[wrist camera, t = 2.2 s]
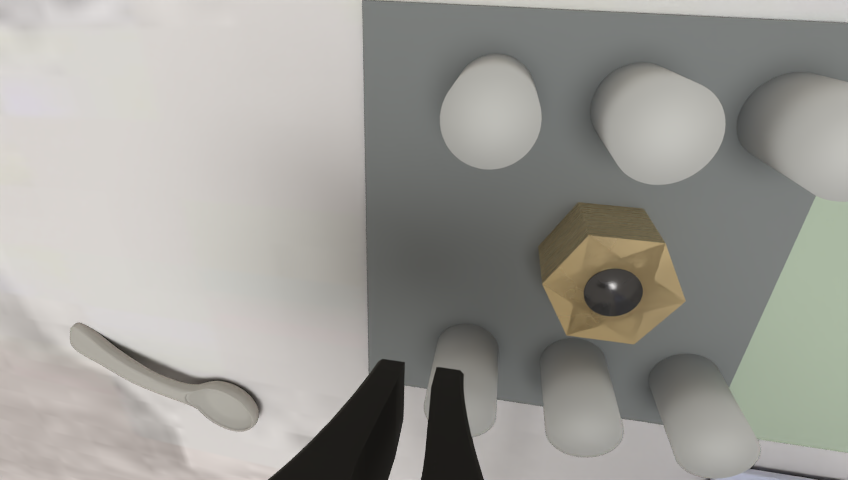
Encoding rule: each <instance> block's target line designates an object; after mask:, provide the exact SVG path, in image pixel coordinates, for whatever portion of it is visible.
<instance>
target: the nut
mask: <svg viewBox="0 0 848 480" xmlns="http://www.w3.org/2000/svg"><path fill="white" fill-rule="evenodd" d="M538 249H539V259H540V268H541V278H542V285H543V287H544V289H545V291H546V293H547V295H548V297H549V300H550V302H551V304H552V306H553V308H554V310H555V312H556V314H557V316H558V319H559V321H560V323H561V325H562V327H563V329H564V331H565V333H566V335H567V336H575V337H582V338H590V339H597V340H605V341H612V342H620V343H627V344H635V343H636V342H638V341H639V340H640V339H641V338H642V337H644V336H645V335H646V334H647V333H648V332H650V331H651V330H652V329H653V328H654V327H656V326H657V325H658V324H659V323H660V322H662V321H663V320H664V319H665V318H666V317H668V316H669V315H670V314H671V313H672V312H674V311H675V310H676V309H677V308H678V307H680V306H681V305H682V304H683V303H684V302H686V300H685V297H684V295H683V292H682V289H681V286H680V283H679V280H678V277H677V275H676V272H675V269H674V266H673V263H672V260H671V257H670V255H669V252H668V249H667V246H666V243H665V242H664V240H663V238H662V237H661V235H660V234H659V232H658V230H657V229H656V227H655V226H654V224H653V223H652V221H651V219H650V218H649V216H648V215H647V213H646V211H645V210H644V209H643V208H633V207H623V206H612V205H602V204H592V203H582V202H578V203H577V204H576V205H575V206H574V207H573V209H572V210H571V211H570V212H569V213H568V214H567V215H566V216H565V217H564V218H563V220H562V221H561V222H560V223H559V224H558V225H557V226H556V227H555V228H554V230H553V231H552V232H551V233H550V234H549V235H548V236H547V237H546V238H545V239H544V241H543V242H542V243H541V244H540V245H539V246H538Z"/></svg>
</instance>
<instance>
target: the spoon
mask: <svg viewBox="0 0 848 480" xmlns="http://www.w3.org/2000/svg"><path fill="white" fill-rule="evenodd" d="M70 342H71V345H72V347H73V348H74V349H75V350H76V351H78V352H79V353H81V354H82V355H84V356H86V357H88V358H89V359H91V360H93V361H95V362H97V363H99V364H100V365H102V366H104V367H105V368H107V369H109V370H111V371H112V372H114V373H116V374H117V375H119V376H121V377H123V378H124V379H126V380H128V381H130V382H132V383H134V384H136V385H138V386H141V387H143V388H145V389H148V390H150V391H153V392H155V393H158V394H161V395H163V396H166V397H169V398H171V399H174V400H177V401H180V402H183V403H185V404H188V405H191V406H193V407H195V408H196V409H198V410H199V411H200V412H201V413H202V414H203V415H204V416H205V417H206V418H207V419H209V420H210V421H212V422H213V423H215V424H217V425H219V426H221V427H223V428H225V429H228V430H232V431H238V432H242V431H247V430H249V429H251V428H252V427H253V426H254V425H255V424H256V423H257V421H258V418H259V411H258V407H257V405H256V403H255V401H254V400H253V398H252V397H251V396H250V395H249V394H248V393H247V392H246V391H244V390H243V389H241V388H240V387H238V386H236V385H234V384H231V383H228V382H224V381H210V382H206V383H202V384H188V383H183V382H179V381H176V380H173V379H170V378H168V377H165V376H163V375H160V374H158V373H156V372H154V371H152V370H151V369H149V368H147V367H145V366H144V365H142V364H140V363H139V362H137V361H136V360H134V359H133V358H131V357H129V356H128V355H126V354H125V353H124V352H122V351H121V350H119V349H118V348H116V347H115V346H114V345H113V344H111V343H110V342H109V341H108V340H106V339H105V338H104V337H103V336H102V335H100V334H99V333H98V332H96V331H95V330H93V329H91V328H90V327H88V326H86V325H84V324H82V323H76V324H75V325H74V326H72V328H71V329H70Z"/></svg>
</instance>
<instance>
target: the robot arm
mask: <svg viewBox="0 0 848 480" xmlns="http://www.w3.org/2000/svg"><path fill="white" fill-rule="evenodd" d="M404 378H405V362H401V361H394V360H387V359H381V360H380V361H378V362H377V364H376V365H375V367H374V368H373V370H372V371H371V372H370V374H369V375H368V376H367V378H366V379H365V380H364V382H363V383H362V384H361V386H360V387H359V388H358V389H357V391H356V392H355V393H354V394H353V396H352V397H351V398H350V399H349V400H348V401H347V403H346V404H345V405H344V406H343V407H342V408H341V409H340V411H339V412H338V413H337V414H336V415H335V416H334V417H333V419H332V420H331V421H330V422H329V423H328V424H327V425H326V426H325V427H324V428H323V429H322V430H321V431H320V432H319V433H318V434H317V435H316V436H315V437H314V438H313V439H312V440H311V441H310V442H309V443H308V444H307V445H306V446H305V447H304V448H303V449H302V450H301V451H300V452H299V453H298V454H297V455H296V456H295V457H294V458H293V459H292V460H290V461H289V462H288V463H287V464H286V465H285V466H284V467H283V468H281V469H280V470H279V471H278V472H277V473H276V474H274V475H273V476H272V477H271V478H270V479H268V480H388V478H389V475H390V471H391V468H392V465H393V462H394V459H395V455H396V451H397V446H398V442H399V437H400V432H401V427H402V423H403V414H404ZM421 480H484V479H483V476H482V472H481V469H480V466H479V462H478V459H477V455H476V452H475V448H474V444H473V440H472V436H471V431H470V427H469V422H468V417H467V412H466V405H465V397H464V374H463V373H462V372H461V370H456V369H449V368H442V367H436V371H435V374H434V378H433V382H432V386H431V394H430V405H429V417H428V428H427V439H426V450H425V459H424V466H423V472H422V477H421ZM710 480H816V479H810V478H804V477H798V476H791V475H785V474H779V473H773V472H767V471H760V470H754V469H748V470H746V471H745V472H743V473H741V474H738V475H735V476H732V477H727V478H716V479H714V478H711V479H710Z"/></svg>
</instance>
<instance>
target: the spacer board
mask: <svg viewBox="0 0 848 480" xmlns="http://www.w3.org/2000/svg"><path fill="white" fill-rule="evenodd" d="M362 13H363V70H364V126H365V182H366V239H367V295H368V351H369V374H370V372H371V371H372V370H373V368H374V367H375V365H376V364H377V362H378V361H380V360H381V359H387V360H394V361H401V362H405V378H404V385H406V386H412V387H419V388H426V389H427V393H426V398H425V402H424V412H425V415H426V417H427V419H428V417H429V405H430V394H431V386H432V382H433V378H434V374H435V371H436V367H442V368H449V369H456V370H461V372H462V373H463V374H464V397H465V405H466V412H467V417H468V422H469V427H470V431H471V436H472V437H475V436H479V435H481V434H483V433H485V432H487V431H488V430H489V429H490V428H491V427H492V426H493V424H494V422H495V420H496V407H497V399H498V400H504V401H511V402H517V403H524V404H530V405H537V406H543V407H544V420H545V432H546V436H547V438H548V440H549V442H550V443H551V444H552V445H553V446H554V447H555V448H556V449H558V450H559V451H561V452H563V453H566V454H568V455H571V456H576V457H596V456H600V455H603V454H606V453H608V452H610V451H612V450H613V449H615V448H616V447H617V446H618V445H619V443H620V442H621V440H622V438H623V434H624V429H623V424H622V421H621V418H622V419H629V420H635V421H642V422H648V423H655V424H661V425H664V428H665V431H666V433H667V436H668V439H669V442H670V445H671V447H672V450H673V453H674V456H675V459H676V461H677V463H678V464H679V465H680V466H681V467H682V468H683V469H684V470H685V471H687V472H689V473H691V474H693V475H696V476H699V477H704V478H714V479H716V478H727V477H732V476H735V475H738V474H741V473H743V472H745V471H746V470H748V469H750V468H751V467H752V466H753V465H754V464H755V463H756V462H757V460H758V459H759V456H760V452H761V447H760V444H759V441H758V439H760V440H766V441H773V442H779V443H786V444H792V445H799V446H805V447H812V448H819V449H825V450H832V451H838V452H845V453H848V23H837V22H816V21H795V20H774V19H752V18H731V17H710V16H689V15H668V14H647V13H626V12H605V11H584V10H563V9H542V8H521V7H499V6H478V5H457V4H436V3H415V2H394V1H373V0H362ZM578 202H582V203H592V204H602V205H612V206H623V207H633V208H643V209H644V210H645V211H646V213H647V215H648V216H649V218H650V219H651V221H652V223H653V224H654V226H655V227H656V229H657V230H658V232H659V234H660V235H661V237H662V238H663V240H664V242H665V243H666V246H667V249H668V252H669V255H670V257H671V260H672V263H673V266H674V269H675V272H676V275H677V277H678V280H679V283H680V286H681V289H682V292H683V295H684V297H685V300H686V302H684V303H683V304H682V305H681V306H680V307H678V308H677V309H676V310H675V311H674V312H672V313H671V314H670V315H669V316H668V317H666V318H665V319H664V320H663V321H662V322H660V323H659V324H658V325H657V326H656V327H654V328H653V329H652V330H651V331H650V332H648V333H647V334H646V335H645V336H644V337H642V338H641V339H640V340H639V341H638V342H636V343H635V344H627V343H620V342H612V341H605V340H597V339H590V338H582V337H575V336H567V335H566V333H565V331H564V329H563V327H562V325H561V323H560V321H559V319H558V316H557V314H556V312H555V310H554V308H553V306H552V304H551V302H550V300H549V297H548V295H547V293H546V291H545V289H544V287H543V285H542V278H541V268H540V259H539V249H538V246H539V245H540V244H541V243H542V242H543V241H544V239H545V238H546V237H547V236H548V235H549V234H550V233H551V232H552V231H553V230H554V228H555V227H556V226H557V225H558V224H559V223H560V222H561V221H562V220H563V218H564V217H565V216H566V215H567V214H568V213H569V212H570V211H571V210H572V209H573V207H574V206H575V205H576V204H577V203H578Z"/></svg>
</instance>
